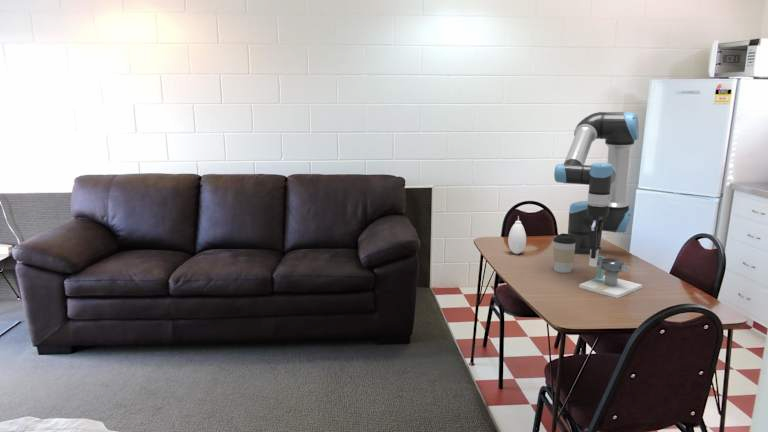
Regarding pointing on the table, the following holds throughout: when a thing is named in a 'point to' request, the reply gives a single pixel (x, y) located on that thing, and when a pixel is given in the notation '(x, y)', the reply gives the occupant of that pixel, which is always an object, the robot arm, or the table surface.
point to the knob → (613, 265)
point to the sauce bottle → (517, 238)
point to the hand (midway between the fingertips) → (593, 265)
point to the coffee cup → (563, 252)
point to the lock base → (609, 284)
